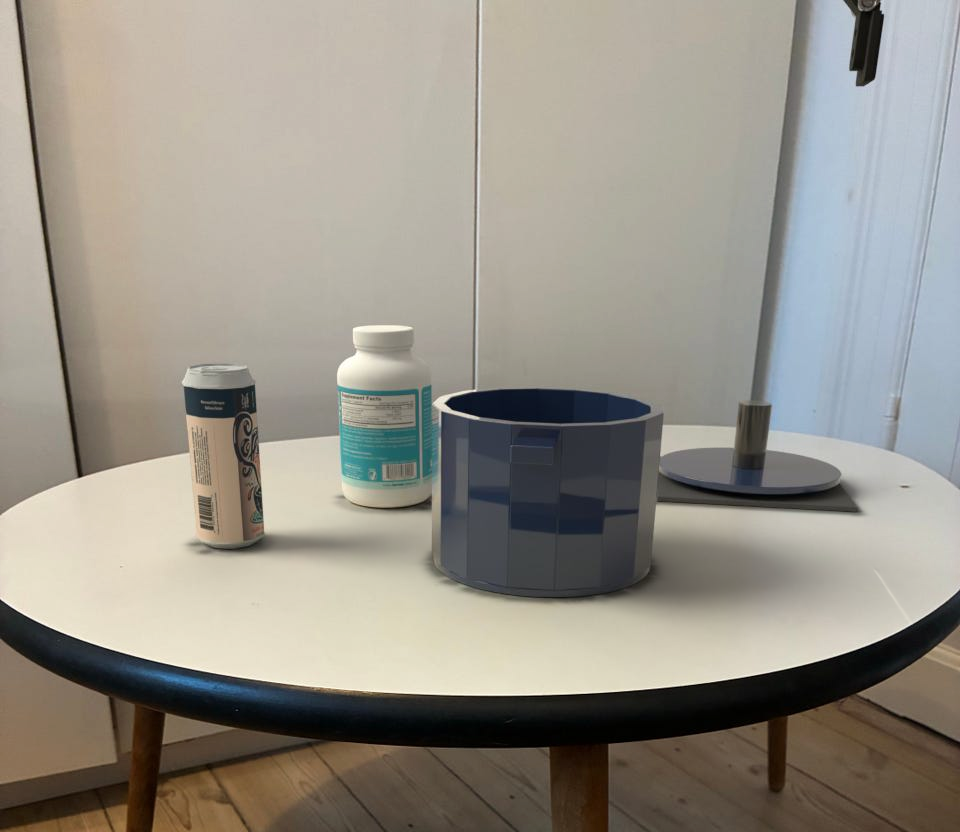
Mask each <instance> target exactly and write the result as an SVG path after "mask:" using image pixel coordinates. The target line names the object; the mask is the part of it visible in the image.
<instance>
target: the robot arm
mask: <svg viewBox="0 0 960 832" xmlns="http://www.w3.org/2000/svg"><path fill="white" fill-rule="evenodd" d="M842 1H843V2H844V3H845V5H846V7H848V8H849V10H850V14H851V16H852V17H853V18H854V19H855V20H854V28H853V35H852V42H851V48H850V49H851V50H850V57H849V64H848V65H849V67H848V70H849V72H856V78H855V87H865V86H867V85H869V84H870V83H872V82H873V81H875V79H876V77H877V71H878V70H877V69H878V63H879V55H880V48H881V41H882V35H883V27H884V21H885V14H884V13H883V9H882V10H881V5H882V2H881V1H882V0H842Z"/></svg>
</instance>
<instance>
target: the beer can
mask: <svg viewBox="0 0 960 832" xmlns="http://www.w3.org/2000/svg"><path fill="white" fill-rule="evenodd" d="M181 384H182V386H183V395H184V405H185V416H186V418H185V419H186V428H187V441H188V451H189V460H190V461H189V464H190V472H191V474H190V475H191V483H192V495H193V507H194V519H195V530H196V533H195V538H196V539H197V540H198V541H199V542H201V543H203V544H205V545H206V546H207V547H210V548H215V549H222V550H223V549H226V550H229V549H241V548H246V547H249V546H252V545H254V544H256V543H257V542H258V541H259V540H260V539H262V538H263V537H264V536H265V535H266V532H265V521H264V506H263V505H264V503H263V490H262V489H263V488H262V475H261V474H262V473H261V459H260V441H259V440H260V439H259V427H258V426H259V425H258V424H259V423H258V410H257V397H256V396H257V393H256V380H255V379H254V378H253V377H252V375H251V373H250V369H249V368H248V366H247V365H246V364H239V363H229V362H227V363H224V362H223V363H222V362H221V363H220V362H214V363H198V364H193V365H189V366H187V369H186V372H185V376H184V378H183V380H182V381H181Z"/></svg>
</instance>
